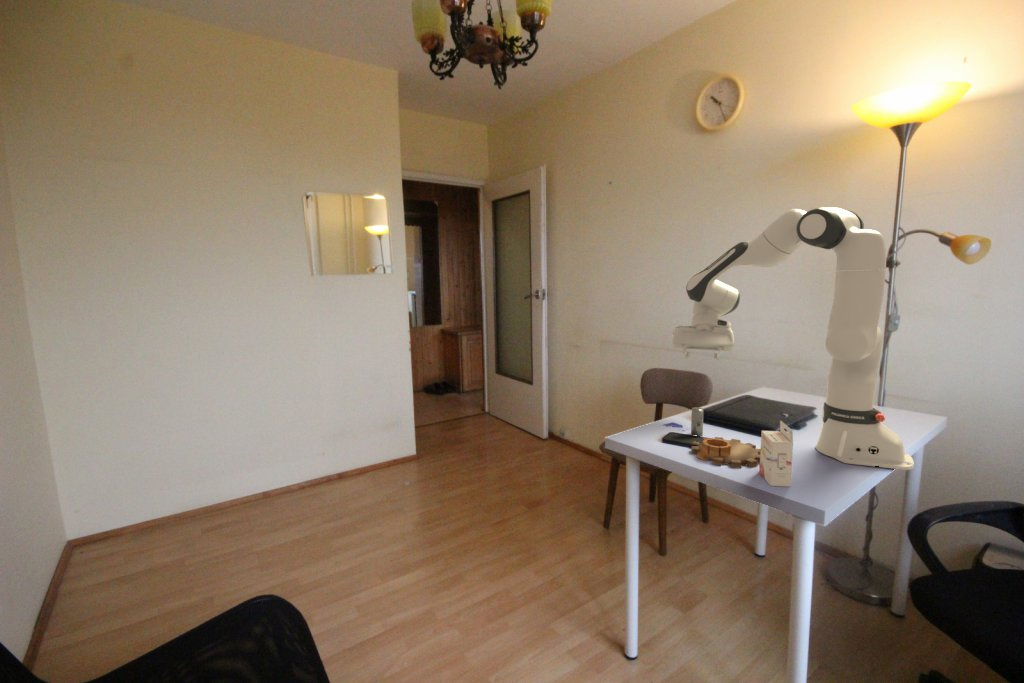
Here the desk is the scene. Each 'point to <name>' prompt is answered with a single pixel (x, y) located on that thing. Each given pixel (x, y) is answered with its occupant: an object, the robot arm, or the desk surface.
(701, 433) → the pin
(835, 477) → the desk surface
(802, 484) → the desk surface
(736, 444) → the sprocket
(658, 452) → the desk surface
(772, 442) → the ink cartridge box
